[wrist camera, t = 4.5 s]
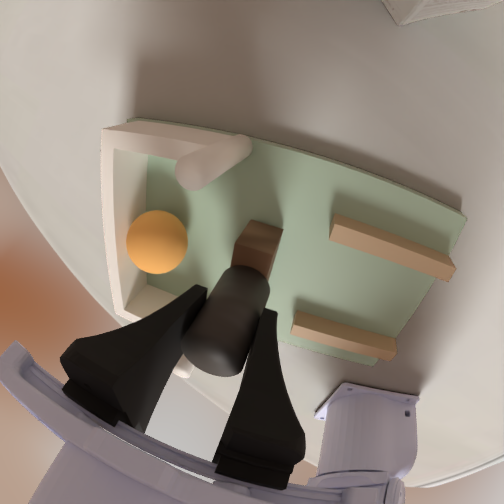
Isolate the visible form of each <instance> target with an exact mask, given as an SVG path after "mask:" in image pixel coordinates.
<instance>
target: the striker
mask: <svg viewBox="0 0 504 504" xmlns="http://www.w3.org/2000/svg"><path fill="white" fill-rule="evenodd" d="M283 230H284V229H281V228H278V227H275V226H272V225H268V224H265V223H262V222H258V221H255V220H252V219H251V220H250V221H249V223H248V224H247V226H246V227H245V229H244V230H243V231H242V233H241V234H240V236H239V237H238V239H237V240H236V242H235V244H234V250H233V255H232V260H231V265H230V268H228V269H226V270H225V271H224V272H223V274H222V276H221V277H220V279H219V280H218V282H217V284H216V285H215V287H214V288H213V290H212V292H211V293H210V295H209V296H208V298H207V300H206V301H205V303H204V305H203V306H202V308H201V309H200V311H199V313H198V314H197V316H196V318H195V319H194V321H193V322H192V324H191V326H190V327H189V329H188V331H187V332H186V334H185V335H184V337H183V339H182V341H181V349H182V352H183V354H184V355H185V357H186V358H187V359H188V360H189V361H190V362H191V363H192V364H193V365H194V366H196V367H197V368H199V369H200V370H202V371H204V372H207V373H209V374H212V375H216V376H221V377H230V376H235V375H237V374H239V373H240V372H241V371H242V369H243V367H244V364H245V362H246V359H247V356H248V353H249V351H250V348H251V345H252V343H253V340H254V336H255V333H256V330H257V326H258V323H259V320H260V317H261V315H262V312H263V309H264V307H266V304H267V301H268V298H269V295H270V286H269V283H268V281H269V278H270V274H271V271H272V268H273V264H274V261H275V257H276V254H277V251H278V247H279V244H280V240H281V237H282V233H283Z"/></svg>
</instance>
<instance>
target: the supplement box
mask: <svg viewBox="0 0 504 504" xmlns="http://www.w3.org/2000/svg"><path fill="white" fill-rule="evenodd" d="M381 1H382V2H383V4H384V5H385V7H386V8H387V10H388V11H389V13H390V14H391V16H392V18H393V19H394V21H395V23H396V24H397V25H398V26H402V25H405V24H409V23H412V22H416V21H420V20H424V19H428V18H433V17H438V16H443V15H448V14H454V13H460V12H467V11H474V10H482V9H485V8H487V7H490V6H492V5H494V4H496V3H499V2H502V1H504V0H381Z"/></svg>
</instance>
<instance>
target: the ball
mask: <svg viewBox="0 0 504 504" xmlns="http://www.w3.org/2000/svg"><path fill="white" fill-rule="evenodd" d="M187 247H188V236H187V232H186V229H185V227H184V225H183V224H182V222H181V221H180V220H179V219H178V218H177V217H176V216H174V215H173V214H171V213H169V212H166V211H161V210H154V211H149V212H146V213H144V214H142V215H140V216H139V217H138V218H136V219H135V220H134V221H133V223H132V224H131V226H130V228H129V230H128V233H127V237H126V248H127V252H128V255H129V257H130V259H131V260H132V262H133V263H134V264H135V265H136V266H137V267H138V268H140V269H141V270H143V271H145V272H148V273H152V274H162V273H166V272H169V271H171V270H173V269H174V268H175V267H177V266H178V265H179V264H180V263H181V261H182V260H183V258H184V257H185V254H186V252H187Z"/></svg>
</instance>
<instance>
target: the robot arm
mask: <svg viewBox="0 0 504 504" xmlns="http://www.w3.org/2000/svg"><path fill="white" fill-rule="evenodd" d="M207 291H208V288H206V287H204V286H201V285H198V284H195V285H194V286H192V287H191V288H190V289H188V290H187V291H186V292H184V293H183V294H181V295H180V296H179V297H177V298H176V299H174V300H173V301H171V302H170V303H168V304H167V305H165V306H164V307H162V308H160V309H159V310H157V311H155V312H153V313H152V314H150V315H148V316H146V317H144V318H142V319H140V320H138V321H136V322H134V323H132V324H129V325H127V326H124V327H122V328H119V329H116V330H113V331H110V332H106V333H103V334H99V335H96V336H90V337H85V338H79V339H76V340H75V341H74V342H73V343H72V344H71V345H70V346H69V347H68V348H67V350H66V351H65V352H64V353H63V354H62V356H61V357H60V362H61V364H62V366H63V368H64V370H65V372H66V373H67V375H68V377H69V380H68V381H67V383H66V384H65V385H64V384H62V383H61V382H60V381H58V380H57V379H56V378H54V377H53V376H52V375H51V374H49V373H48V372H47V371H46V370H44V369H43V368H42V367H41V366H39V365H38V364H37V363H36V362H35V361H34V359H33V357H32V356H31V354H30V353H29V352H28V351H27V350H26V349H25V348H24V347H23V346H22V345H21V344H20V343H19V342H18V341H16V340H15V341H14V342H13V343H12V344H11V345H10V346H9V347H8V349H7V350H6V351H5V352H4V353H3V354H2V355H1V356H0V382H1V383H2V384H3V386H4V387H5V388H6V389H7V390H8V391H9V392H10V393H11V395H12V396H13V397H15V399H16V400H18V402H19V403H20V404H22V405H23V406H24V407H25V408H26V409H27V410H28V411H29V412H30V413H31V414H32V415H33V416H34V417H35V418H37V419H38V420H39V421H40V422H41V423H42V424H43V425H45V426H46V427H47V428H48V429H49V430H51V431H52V432H53V433H54V434H55V435H57V436H58V437H59V438H60V439H62V440H63V441H64V442H66V443H65V444H64V446H63V447H62V449H61V450H60V452H59V453H58V455H57V457H56V458H55V460H54V462H53V463H52V465H51V466H50V468H49V469H48V471H47V473H46V474H45V476H44V478H43V479H42V481H41V483H40V484H39V486H38V488H37V489H36V491H35V493H34V495H33V496H32V498H31V500H30V501H29V503H28V504H405V485H404V482H403V481H401V480H400V479H402V478H403V477H405V476H406V475H407V474H408V473H409V471H410V470H411V469H412V467H413V465H414V462H415V459H416V455H417V422H416V408H415V404H416V403H417V402H418V401H419V397H418V396H413V395H407V394H401V393H395V392H390V391H384V390H379V389H374V388H369V387H364V386H360V385H355V384H351V383H342V384H341V385H340V386H339V387H338V389H337V390H336V391H335V392H334V393H333V394H332V395H331V397H330V398H329V399H328V400H327V401H326V402H325V403H324V404H323V406H322V407H321V408H320V409H319V410H318V411H317V412H316V413H315V414H314V418H315V419H319V420H324V421H325V428H324V434H323V440H322V446H321V452H320V458H319V463H318V468H317V473H316V477H315V478H309V480H308V484H307V485H305V486H304V485H298V484H291V483H288V481H289V477H290V474H291V473H292V472H293V468H294V465H295V464H297V463H298V462H300V461H301V460H303V459H304V456H305V449H306V441H305V433H304V431H303V429H302V427H301V425H300V423H299V421H298V419H297V416H296V414H295V412H294V409H293V407H292V404H291V401H290V398H289V396H288V393H287V390H286V386H285V383H284V379H283V375H282V370H281V365H280V359H279V352H278V342H277V318H278V313H277V311H274V310H271V309H268V308H265V307H264V309H263V312H262V315H261V317H260V320H259V323H258V326H257V330H256V333H255V336H254V340H253V343H252V345H251V348H250V351H249V355H248V358H247V362H246V366H245V370H244V374H243V378H242V382H241V386H240V390H239V392H238V395H237V398H236V400H235V403H234V406H233V408H232V411H231V413H230V416H229V419H228V421H227V424H226V427H225V429H224V432H223V434H222V437H221V440H220V442H219V445H218V447H217V450H216V453H215V455H214V458H213V460H212V462H210V461H207V460H204V459H201V458H199V457H196V456H193V455H191V454H188V453H186V452H183V451H181V450H178V449H176V448H174V447H171V446H169V445H167V444H165V443H162V442H160V441H158V440H156V439H154V438H152V437H150V436H148V435H146V434H144V433H145V431H146V428H147V425H148V423H149V420H150V418H151V415H152V413H153V411H154V409H155V406H156V404H157V402H158V400H159V398H160V395H161V393H162V391H163V389H164V387H165V385H166V383H167V381H168V379H169V377H170V375H171V373H172V371H173V369H174V367H175V366H176V364H177V363H178V361H179V360H180V358H181V356H182V355H183V352H182V349H181V341H182V339H183V337H184V335H185V334H186V332H187V331H188V329H189V327H190V326H191V324H192V322H193V321H194V319H195V318H196V316H197V314H198V313H199V311H200V309H201V308H202V306H203V305H204V303H205V301H206V299H207ZM100 426H101V427H100ZM103 428H104V429H105V430H107V431H109V432H111V433H112V434H114V435H116V436H117V437H116V436H114V435H112V434H111V433H109V432H107V431H105V430H104V429H103ZM118 437H119V438H121V439H123V440H125V441H126V442H124V441H122V440H121V439H119V438H118ZM127 442H128V443H130V444H132V445H134V446H136V447H138V448H140V449H141V450H140V449H138V448H136V447H134V446H132V445H130V444H128V443H127ZM142 450H143V451H142ZM144 451H145V452H144ZM146 452H148V453H150V454H152V455H154V456H156V457H158V458H160V459H162V460H165V461H167V462H169V463H172V464H174V465H176V466H179V467H181V468H184V469H186V470H189V471H191V472H194V473H196V474H199V475H202V476H205V477H208V478H211V479H214V480H217V481H214V482H213V484H212V483H209V482H206V481H204V480H202V479H199V478H197V477H195V476H192V475H190V474H188V473H185V472H183V471H181V470H179V469H177V468H175V467H173V466H171V465H170V464H168V463H166V462H164V461H162V460H160V459H158V458H156V457H154V456H152V455H150V454H147V453H146Z"/></svg>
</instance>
